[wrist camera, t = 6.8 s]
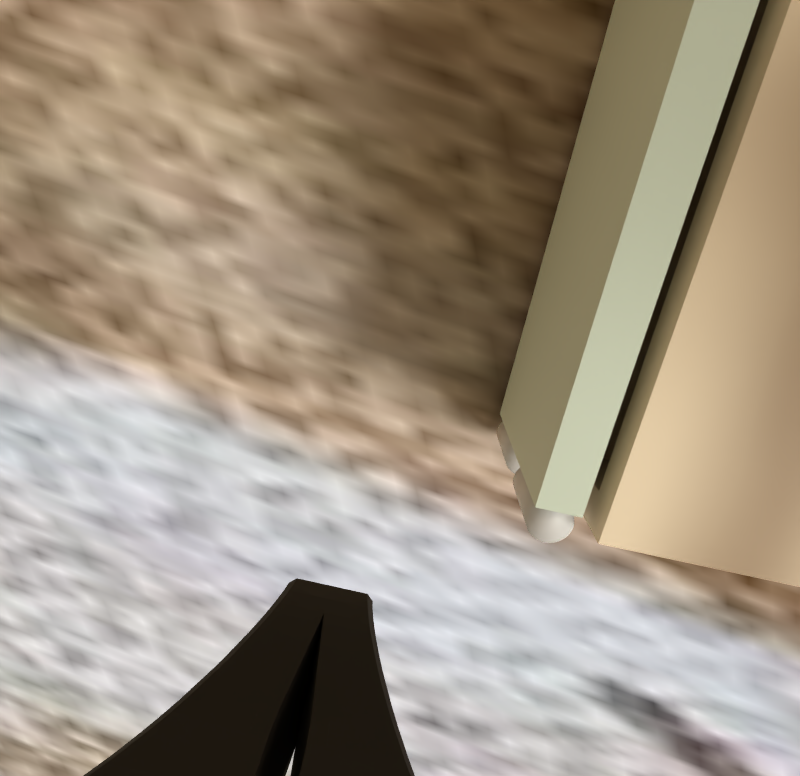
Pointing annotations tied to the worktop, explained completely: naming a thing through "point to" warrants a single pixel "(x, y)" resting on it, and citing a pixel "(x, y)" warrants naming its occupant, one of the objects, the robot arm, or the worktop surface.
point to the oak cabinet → (723, 347)
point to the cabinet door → (613, 243)
